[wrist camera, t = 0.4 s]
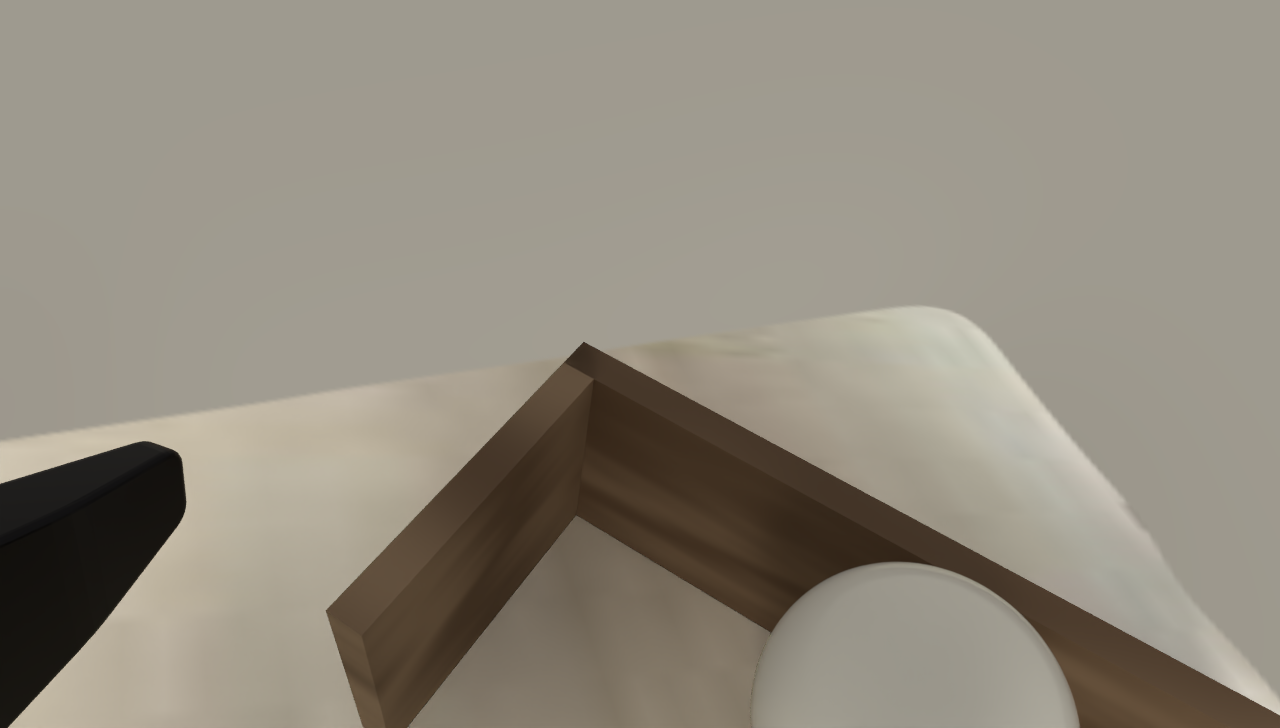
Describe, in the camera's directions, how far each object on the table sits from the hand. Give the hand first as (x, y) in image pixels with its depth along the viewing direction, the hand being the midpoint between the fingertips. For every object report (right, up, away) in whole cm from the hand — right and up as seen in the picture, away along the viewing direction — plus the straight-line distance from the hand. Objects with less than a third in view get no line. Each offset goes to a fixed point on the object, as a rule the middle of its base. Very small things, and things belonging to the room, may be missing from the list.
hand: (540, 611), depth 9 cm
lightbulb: (+6, -10, +14) cm, 18 cm away
